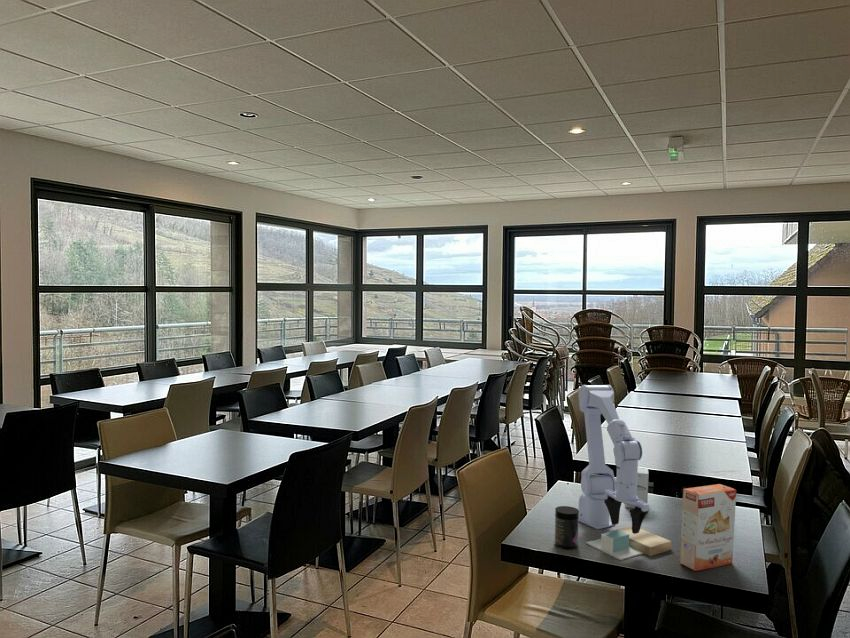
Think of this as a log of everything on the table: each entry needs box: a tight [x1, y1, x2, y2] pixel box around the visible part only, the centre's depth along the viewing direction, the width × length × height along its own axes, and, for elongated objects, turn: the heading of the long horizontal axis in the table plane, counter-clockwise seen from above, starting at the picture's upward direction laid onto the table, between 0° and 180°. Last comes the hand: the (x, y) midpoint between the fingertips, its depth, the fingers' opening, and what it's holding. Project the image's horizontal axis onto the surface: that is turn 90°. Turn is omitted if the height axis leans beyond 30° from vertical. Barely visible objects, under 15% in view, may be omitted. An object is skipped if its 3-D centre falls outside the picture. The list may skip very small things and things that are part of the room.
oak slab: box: [611, 525, 672, 557], centre depth 184 cm, size 14×9×2 cm, turn 31°
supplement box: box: [624, 467, 649, 509], centre depth 217 cm, size 7×7×13 cm
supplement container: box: [554, 505, 580, 550], centre depth 182 cm, size 7×7×10 cm
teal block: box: [600, 529, 629, 553], centre depth 180 cm, size 4×4×7 cm
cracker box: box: [679, 483, 737, 572], centre depth 171 cm, size 14×6×21 cm, turn 114°
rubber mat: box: [585, 538, 644, 561], centre depth 180 cm, size 13×9×1 cm
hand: (625, 528), depth 182 cm, fingers open, 7 cm apart
